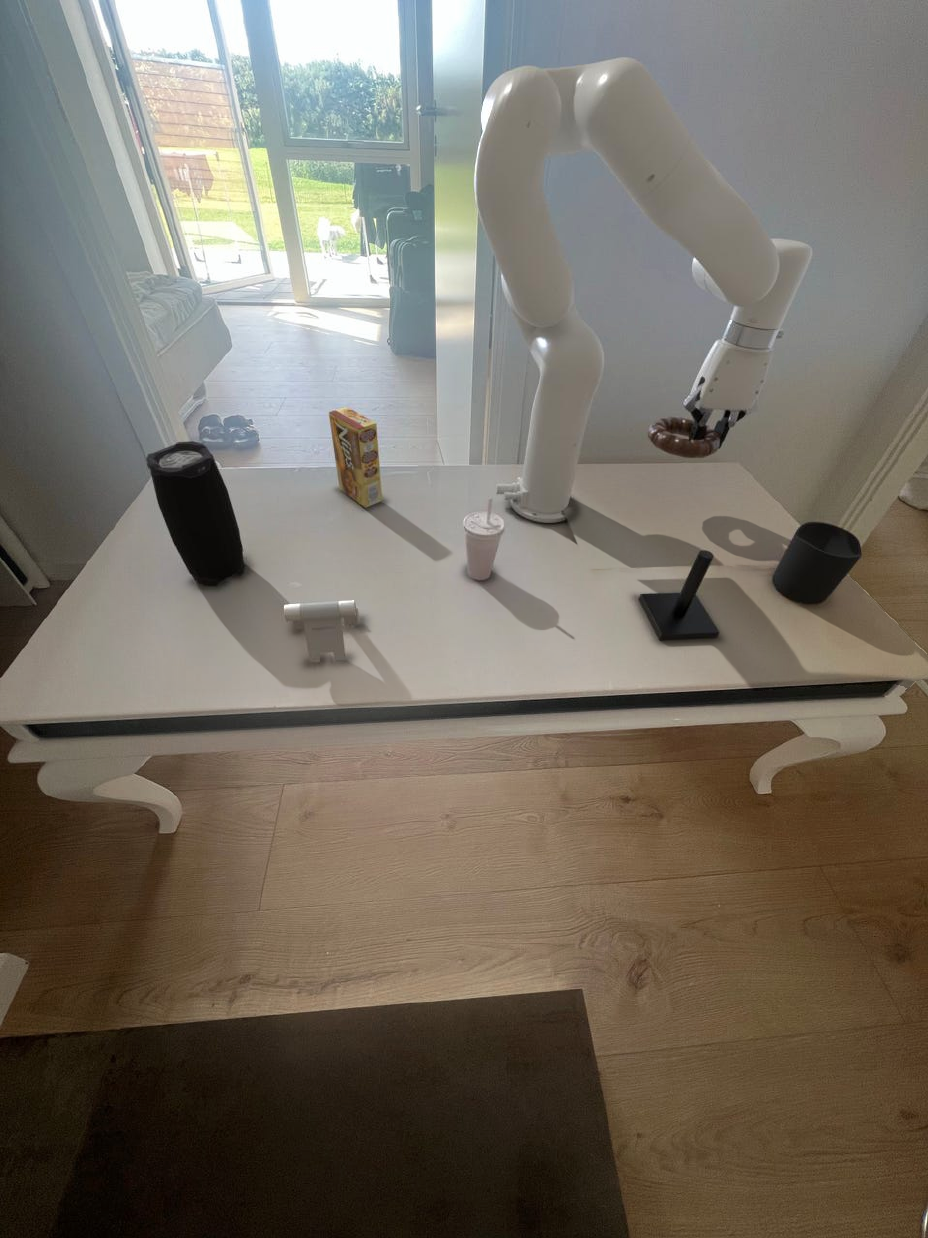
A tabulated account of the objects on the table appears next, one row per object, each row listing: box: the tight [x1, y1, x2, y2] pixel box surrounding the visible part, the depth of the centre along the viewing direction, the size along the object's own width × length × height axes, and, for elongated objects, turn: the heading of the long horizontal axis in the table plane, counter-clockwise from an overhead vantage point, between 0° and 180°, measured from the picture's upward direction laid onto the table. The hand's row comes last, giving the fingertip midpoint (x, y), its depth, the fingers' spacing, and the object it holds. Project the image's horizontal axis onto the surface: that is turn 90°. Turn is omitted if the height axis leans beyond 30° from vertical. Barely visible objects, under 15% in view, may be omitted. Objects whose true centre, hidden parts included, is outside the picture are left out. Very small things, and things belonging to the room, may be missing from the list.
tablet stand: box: [283, 599, 360, 663], centre depth 70 cm, size 9×8×8 cm
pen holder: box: [771, 521, 863, 605], centre depth 83 cm, size 9×9×10 cm
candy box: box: [328, 406, 383, 509], centre depth 94 cm, size 9×4×15 cm, turn 44°
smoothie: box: [462, 496, 506, 581], centre depth 80 cm, size 6×6×14 cm
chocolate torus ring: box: [647, 416, 720, 459], centre depth 94 cm, size 12×12×3 cm
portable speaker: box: [146, 440, 246, 587], centre depth 75 cm, size 9×9×20 cm
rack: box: [638, 549, 720, 641], centre depth 76 cm, size 9×9×12 cm
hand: (704, 444), depth 95 cm, fingers closed on chocolate torus ring, 3 cm apart
